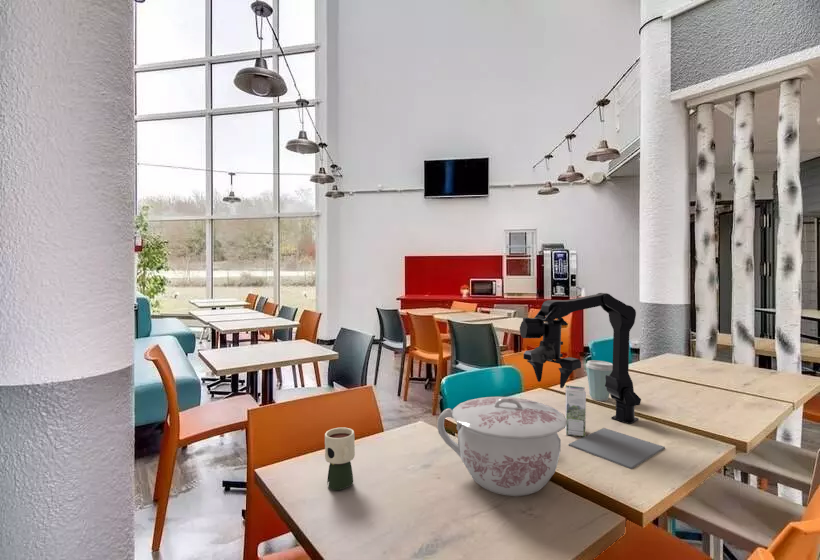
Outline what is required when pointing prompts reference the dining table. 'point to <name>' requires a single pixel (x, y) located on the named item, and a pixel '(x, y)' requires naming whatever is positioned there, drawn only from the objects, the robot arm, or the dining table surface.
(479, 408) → the chamber pot
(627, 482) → the dining table surface
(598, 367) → the disposable coffee cup
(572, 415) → the syrup box
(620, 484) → the dining table surface
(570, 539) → the dining table surface
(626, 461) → the mat
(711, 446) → the dining table surface
